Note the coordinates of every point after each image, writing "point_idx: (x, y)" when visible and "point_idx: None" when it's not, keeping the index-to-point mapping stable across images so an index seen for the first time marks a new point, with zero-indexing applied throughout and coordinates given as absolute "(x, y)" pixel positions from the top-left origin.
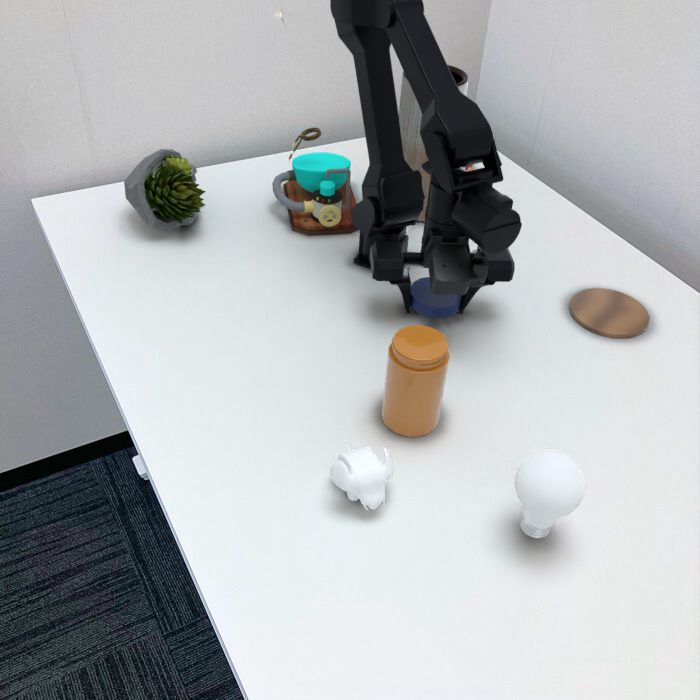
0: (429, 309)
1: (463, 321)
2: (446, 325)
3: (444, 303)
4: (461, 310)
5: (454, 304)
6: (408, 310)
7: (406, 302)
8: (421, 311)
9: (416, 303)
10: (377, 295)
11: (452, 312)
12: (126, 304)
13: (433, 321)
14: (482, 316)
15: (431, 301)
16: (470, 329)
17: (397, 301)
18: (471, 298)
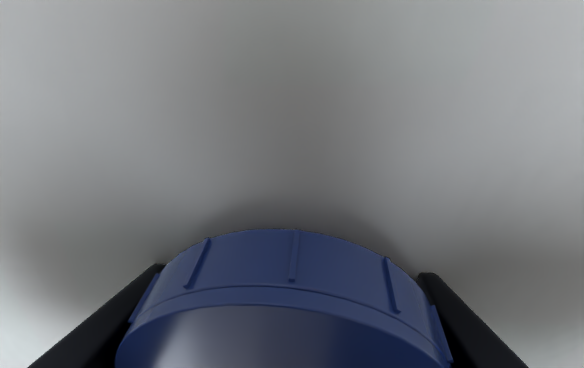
0: (353, 290)
1: (136, 213)
2: (231, 185)
3: (229, 336)
4: (148, 278)
5: (151, 325)
6: (437, 287)
7: (491, 346)
8: (396, 277)
9: (436, 340)
10: None
11: (181, 263)
12: None
13: (304, 216)
14: (49, 243)
15: (330, 356)
16: (83, 150)
17: None
18: (35, 362)
